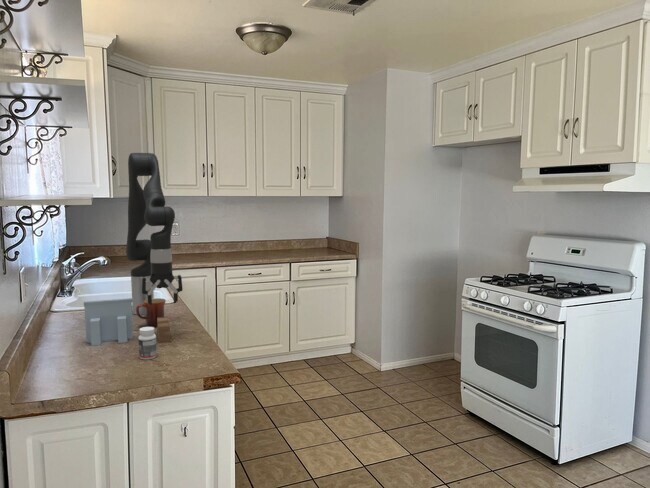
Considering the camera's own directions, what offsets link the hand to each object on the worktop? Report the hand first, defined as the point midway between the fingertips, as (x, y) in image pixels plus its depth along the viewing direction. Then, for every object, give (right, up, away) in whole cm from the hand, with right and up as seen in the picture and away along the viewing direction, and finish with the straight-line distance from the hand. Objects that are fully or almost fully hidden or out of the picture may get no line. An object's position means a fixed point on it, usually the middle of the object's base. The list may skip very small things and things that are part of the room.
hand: (162, 303), depth 185 cm
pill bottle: (+1, -16, -17) cm, 23 cm away
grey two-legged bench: (-19, -14, -1) cm, 24 cm away
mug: (-11, -12, +20) cm, 26 cm away
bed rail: (-1, -13, +5) cm, 14 cm away
